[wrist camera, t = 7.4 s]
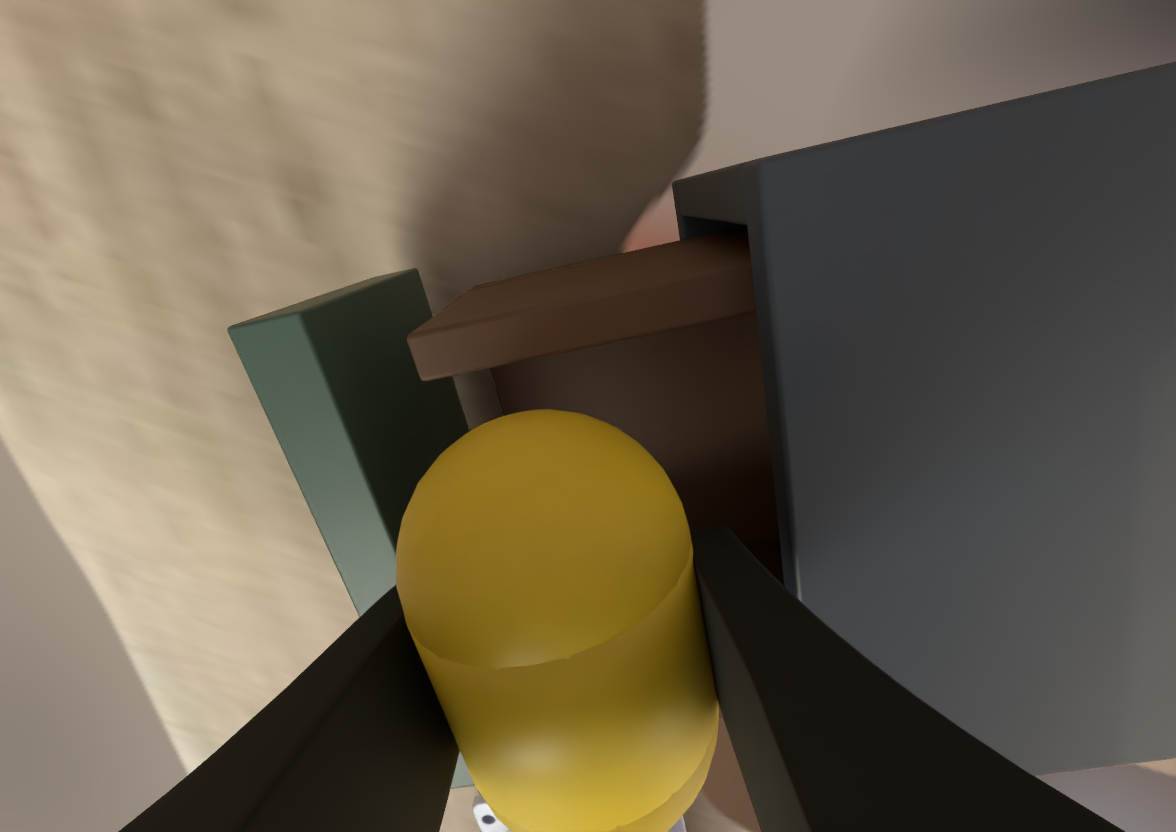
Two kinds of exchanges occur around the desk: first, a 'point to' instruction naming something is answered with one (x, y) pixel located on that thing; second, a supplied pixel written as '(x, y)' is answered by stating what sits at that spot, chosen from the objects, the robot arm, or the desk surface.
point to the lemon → (562, 624)
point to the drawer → (521, 388)
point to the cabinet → (981, 406)
